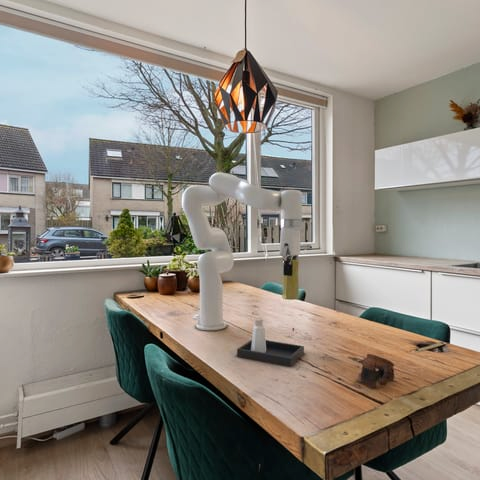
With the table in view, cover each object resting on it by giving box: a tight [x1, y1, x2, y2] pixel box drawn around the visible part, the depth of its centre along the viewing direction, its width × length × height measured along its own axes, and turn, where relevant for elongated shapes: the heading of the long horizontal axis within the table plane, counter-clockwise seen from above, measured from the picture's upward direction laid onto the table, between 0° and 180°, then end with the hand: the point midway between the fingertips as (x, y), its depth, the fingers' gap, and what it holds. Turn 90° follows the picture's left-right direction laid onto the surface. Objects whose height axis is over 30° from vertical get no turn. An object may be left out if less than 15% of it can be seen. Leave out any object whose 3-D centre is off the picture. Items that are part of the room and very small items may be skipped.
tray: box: [236, 339, 305, 367], centre depth 119 cm, size 19×13×2 cm
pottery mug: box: [357, 353, 395, 389], centre depth 98 cm, size 12×10×8 cm
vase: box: [281, 258, 300, 301], centre depth 131 cm, size 6×6×14 cm
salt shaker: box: [251, 317, 266, 353], centre depth 121 cm, size 5×5×11 cm
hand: (290, 273), depth 131 cm, fingers closed on vase, 5 cm apart
